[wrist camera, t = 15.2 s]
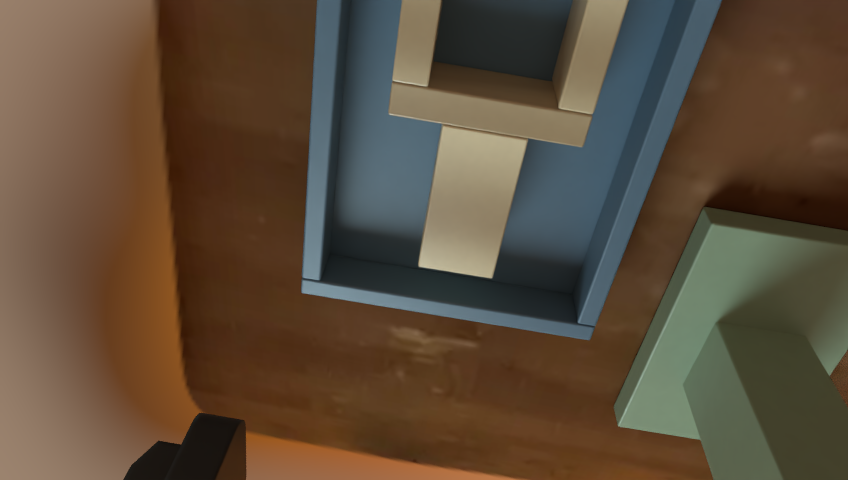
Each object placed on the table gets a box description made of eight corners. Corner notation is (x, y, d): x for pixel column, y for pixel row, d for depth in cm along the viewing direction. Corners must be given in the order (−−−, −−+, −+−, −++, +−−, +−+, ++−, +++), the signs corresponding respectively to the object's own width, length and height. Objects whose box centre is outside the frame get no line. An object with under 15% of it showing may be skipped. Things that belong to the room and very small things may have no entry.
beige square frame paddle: (422, -116, 16) (414, -105, 14) (632, -80, 16) (649, -65, 14) (378, 222, 21) (369, 259, 19) (536, 248, 21) (540, 287, 19)
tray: (353, -326, 14) (334, -342, 12) (782, -249, 14) (822, -254, 12) (314, 256, 22) (300, 293, 21) (582, 301, 23) (590, 341, 21)
